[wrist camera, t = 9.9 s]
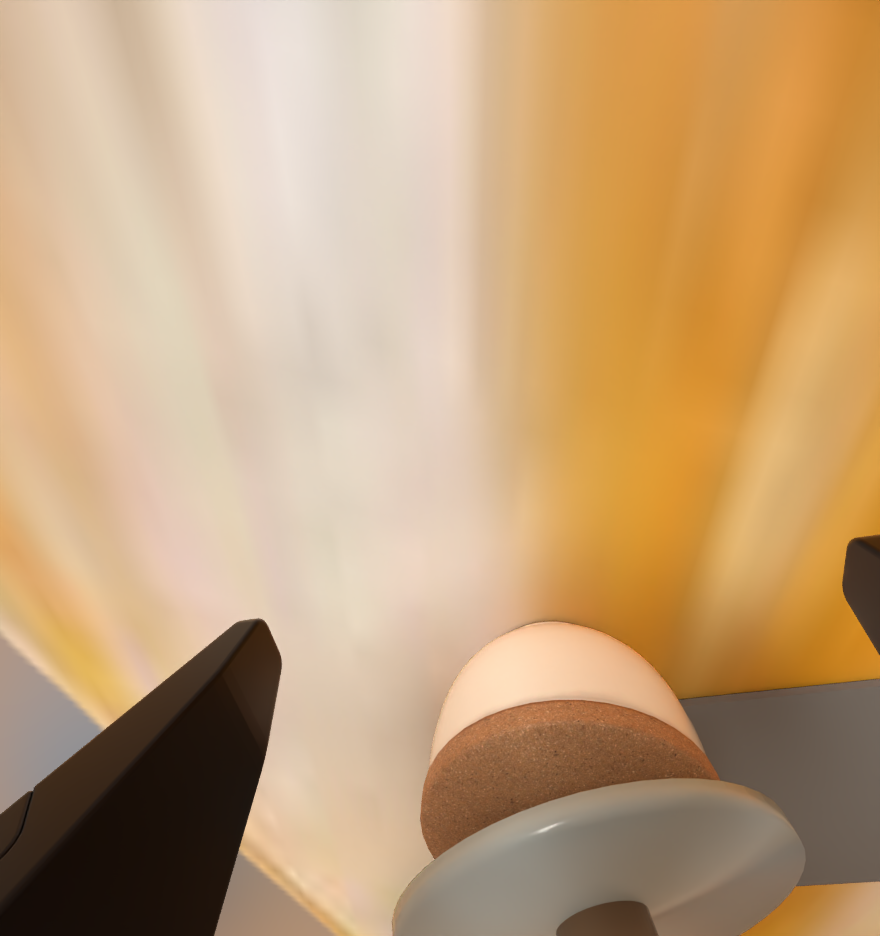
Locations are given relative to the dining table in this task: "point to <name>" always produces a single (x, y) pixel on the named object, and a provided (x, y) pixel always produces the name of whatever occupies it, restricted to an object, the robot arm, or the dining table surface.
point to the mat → (806, 766)
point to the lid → (614, 866)
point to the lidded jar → (550, 729)
